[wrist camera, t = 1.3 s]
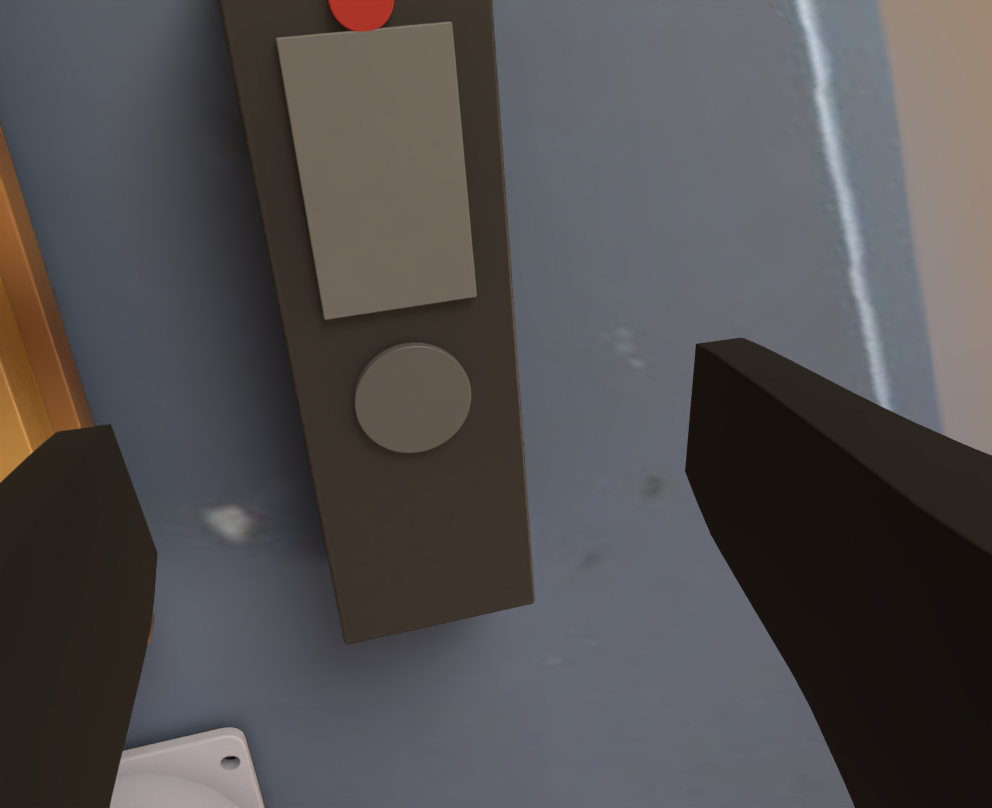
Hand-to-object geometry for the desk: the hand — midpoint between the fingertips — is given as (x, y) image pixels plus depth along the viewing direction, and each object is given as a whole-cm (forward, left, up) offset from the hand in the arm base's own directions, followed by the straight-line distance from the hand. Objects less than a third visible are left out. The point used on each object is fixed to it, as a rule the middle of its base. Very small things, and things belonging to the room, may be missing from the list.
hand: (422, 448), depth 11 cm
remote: (-1, -1, -10) cm, 10 cm away
